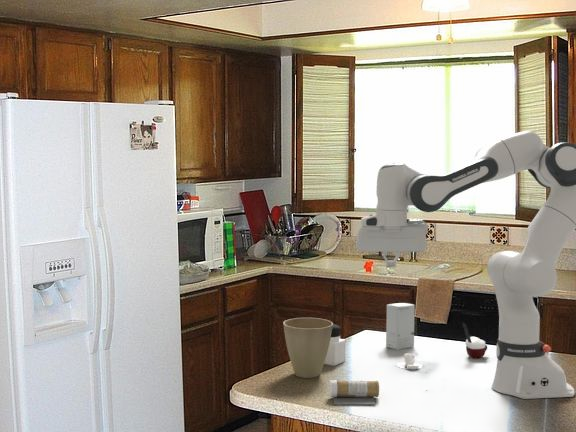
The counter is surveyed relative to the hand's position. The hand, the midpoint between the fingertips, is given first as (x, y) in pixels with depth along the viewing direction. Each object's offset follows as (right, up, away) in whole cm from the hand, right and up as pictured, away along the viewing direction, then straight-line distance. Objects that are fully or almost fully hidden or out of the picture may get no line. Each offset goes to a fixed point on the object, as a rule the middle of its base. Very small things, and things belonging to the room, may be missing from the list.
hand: (390, 267), depth 243 cm
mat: (-12, -35, -10) cm, 38 cm away
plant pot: (-24, -33, +11) cm, 42 cm away
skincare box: (+9, -30, +46) cm, 56 cm away
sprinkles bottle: (-5, -33, -12) cm, 35 cm away
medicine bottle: (-16, -32, +26) cm, 44 cm away
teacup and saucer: (+6, -33, +20) cm, 39 cm away
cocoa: (+31, -32, +32) cm, 55 cm away
